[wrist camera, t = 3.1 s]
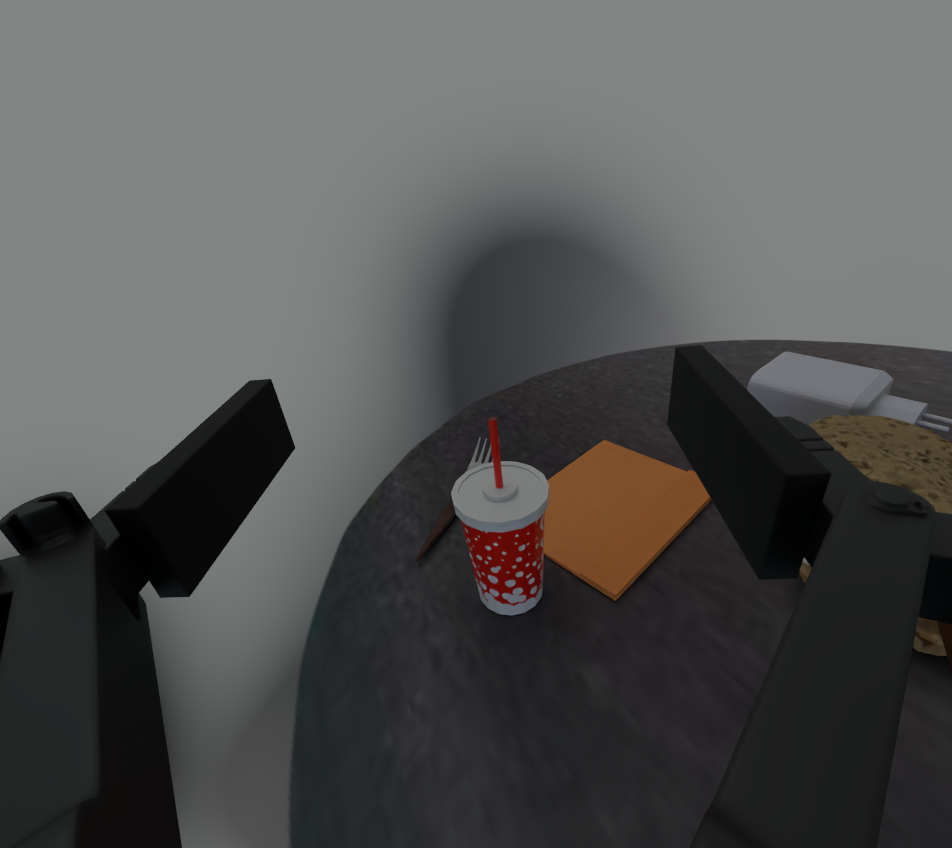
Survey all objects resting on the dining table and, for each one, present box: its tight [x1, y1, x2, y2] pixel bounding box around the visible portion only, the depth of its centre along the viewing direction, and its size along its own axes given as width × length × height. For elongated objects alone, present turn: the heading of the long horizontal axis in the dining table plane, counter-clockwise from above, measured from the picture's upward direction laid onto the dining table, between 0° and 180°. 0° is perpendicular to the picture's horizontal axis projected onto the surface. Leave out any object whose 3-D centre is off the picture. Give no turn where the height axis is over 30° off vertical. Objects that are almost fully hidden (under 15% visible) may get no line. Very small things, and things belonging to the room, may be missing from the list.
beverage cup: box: [451, 417, 549, 615], centre depth 30 cm, size 6×6×14 cm
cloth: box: [544, 440, 712, 601], centre depth 40 cm, size 16×12×1 cm
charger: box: [747, 352, 952, 432], centre depth 46 cm, size 5×9×15 cm
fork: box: [416, 438, 500, 562], centre depth 42 cm, size 3×16×2 cm, turn 157°
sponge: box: [799, 415, 952, 656], centre depth 32 cm, size 13×8×20 cm
